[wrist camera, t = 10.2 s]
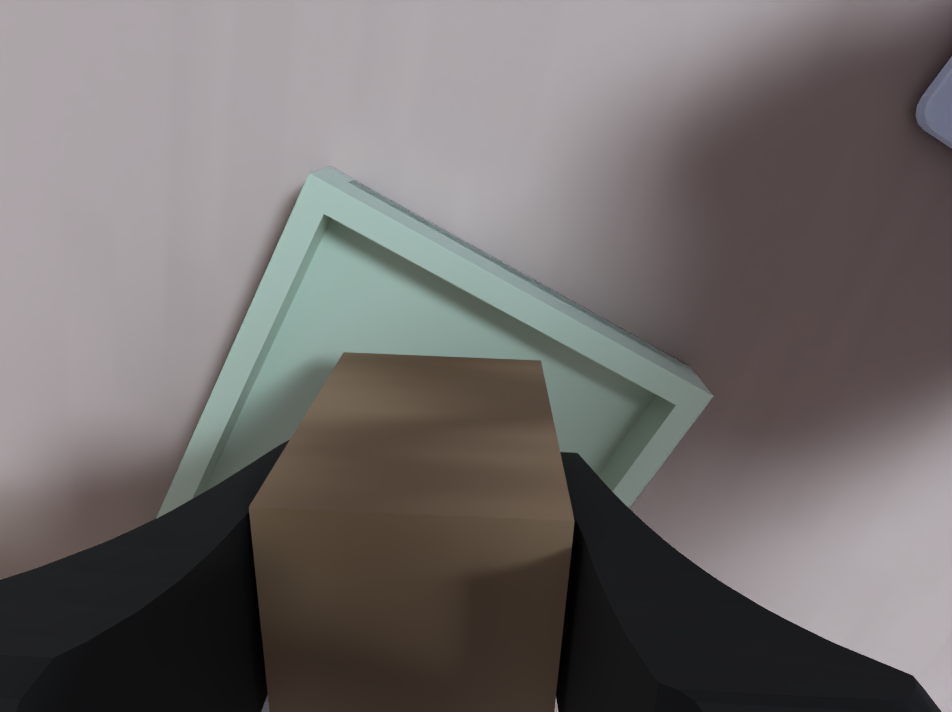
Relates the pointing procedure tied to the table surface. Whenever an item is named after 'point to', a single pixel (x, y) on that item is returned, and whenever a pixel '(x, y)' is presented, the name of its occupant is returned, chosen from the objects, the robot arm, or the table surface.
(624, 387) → the tray
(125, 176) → the table surface
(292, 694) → the block
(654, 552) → the robot arm
